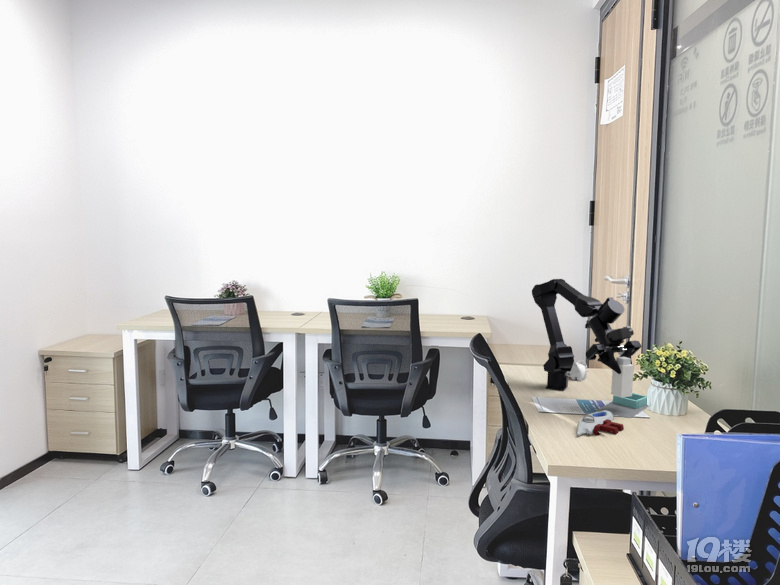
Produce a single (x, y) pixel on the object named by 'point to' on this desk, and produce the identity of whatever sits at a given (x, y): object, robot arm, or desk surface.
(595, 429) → the bracket
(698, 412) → the desk surface
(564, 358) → the robot arm
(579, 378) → the elephant figurine
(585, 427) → the spaceship
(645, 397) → the holder
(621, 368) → the grey square bottle
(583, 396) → the desk surface
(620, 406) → the mat
